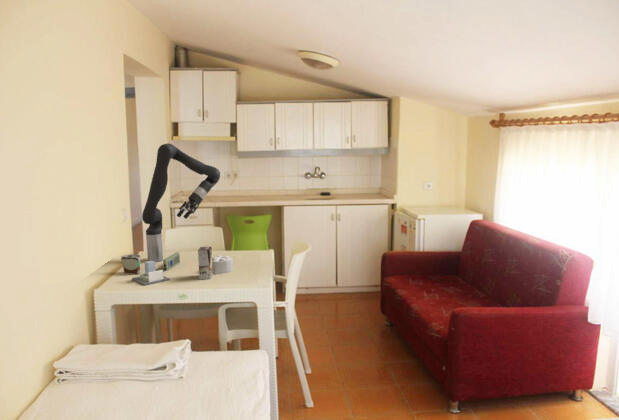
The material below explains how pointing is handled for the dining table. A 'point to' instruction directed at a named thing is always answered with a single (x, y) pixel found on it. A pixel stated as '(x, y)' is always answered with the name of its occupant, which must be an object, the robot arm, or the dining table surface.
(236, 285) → the dining table surface
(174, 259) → the handheld radio
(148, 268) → the block
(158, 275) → the charging dock
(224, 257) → the lumpy-topped squat cylinder
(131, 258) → the food container
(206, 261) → the coffee box
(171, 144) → the robot arm
